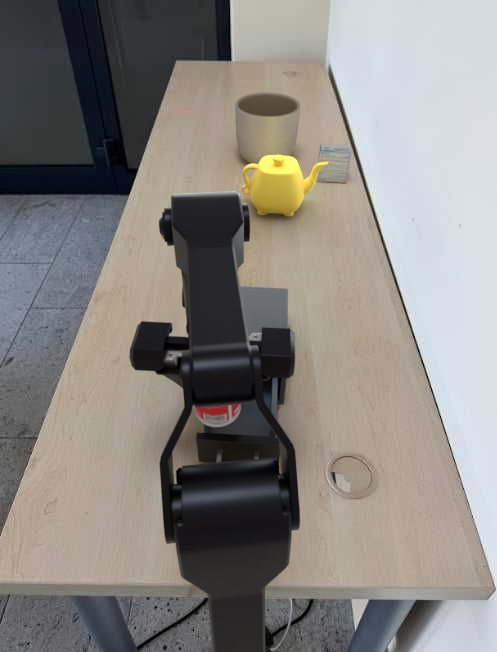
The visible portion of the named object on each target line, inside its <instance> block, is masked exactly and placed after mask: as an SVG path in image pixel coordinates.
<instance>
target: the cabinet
mask: <svg viewBox="0 0 497 652" xmlns="http://www.w3.org/2000/svg"><path fill="white" fill-rule="evenodd" d="M240 287H241V293H242V299H243V305H244V312H245V318H246V324H247V330H248V337H249V336H250V335H251V334H253V333H262V327H269V328H288V327H289V326H288V325H289V324H288V323H289V322H288V321H289V320H288V317H289V316H288V315H289V313H288V312H289V289H288V288H281V287H264V286H263V287H262V286H242V285H240ZM287 379H288V378H278V389H277V405H284V404H285V397H286V386H287Z"/></svg>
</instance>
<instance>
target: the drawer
mask: <svg viewBox="0 0 497 652" xmlns="http://www.w3.org/2000/svg"><path fill="white" fill-rule="evenodd" d="M262 381H263V394H264V402H265V404H266V405H267V407H268V408H269V410H270V411H271V413H272V414H273V416H274V417H275V419H276V420H277V419H278V404H277V389H278V378H274V377H270V378H269V379H268V380H262ZM277 421H278V420H277ZM195 442H196V443H195V444H196V451H197V452H196V453H197V459H198V460H197V461H198V462H199V463H217V462H228V461H239V460H249V459H260V458H271V457H272V458H273V459H274V458H275V459H276V460H278V462H279V463H280V450H279V439H278V437H277V436H276V434H275V433H274V431H273V430H272V429H271V427H270V426H269V424H268V423H267V421H266V420H265V418H264V417H263V415H262V414H261V412H260V411H259V409H258V408H257V406H256V405H255V403H254V402H252V403H250V404H241V410H240V413H239V415H238V417H237V418H236V419H235V420H234V421H233V422H232V423H230V424H228V425H226V426H222V427H211V426H208V425H205V424H204V423H203V432H201V431H197V432H196V437H195Z"/></svg>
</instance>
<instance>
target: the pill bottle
mask: <svg viewBox="0 0 497 652" xmlns="http://www.w3.org/2000/svg"><path fill="white" fill-rule="evenodd" d="M193 407H194V412H195V415H196V417H197V419H198V420H199V421H200V422H201V423H202V424H203V425H204V424H205V425H208V426H211V427H222V426H226V425H228V424H230V423H232V422H233V421H234V420H235V419H236V418H237V417H238V415H239V413H240V410H241V404H239V405H227V406H215V407H203V408H196V407H195V406H194V405H193Z"/></svg>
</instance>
